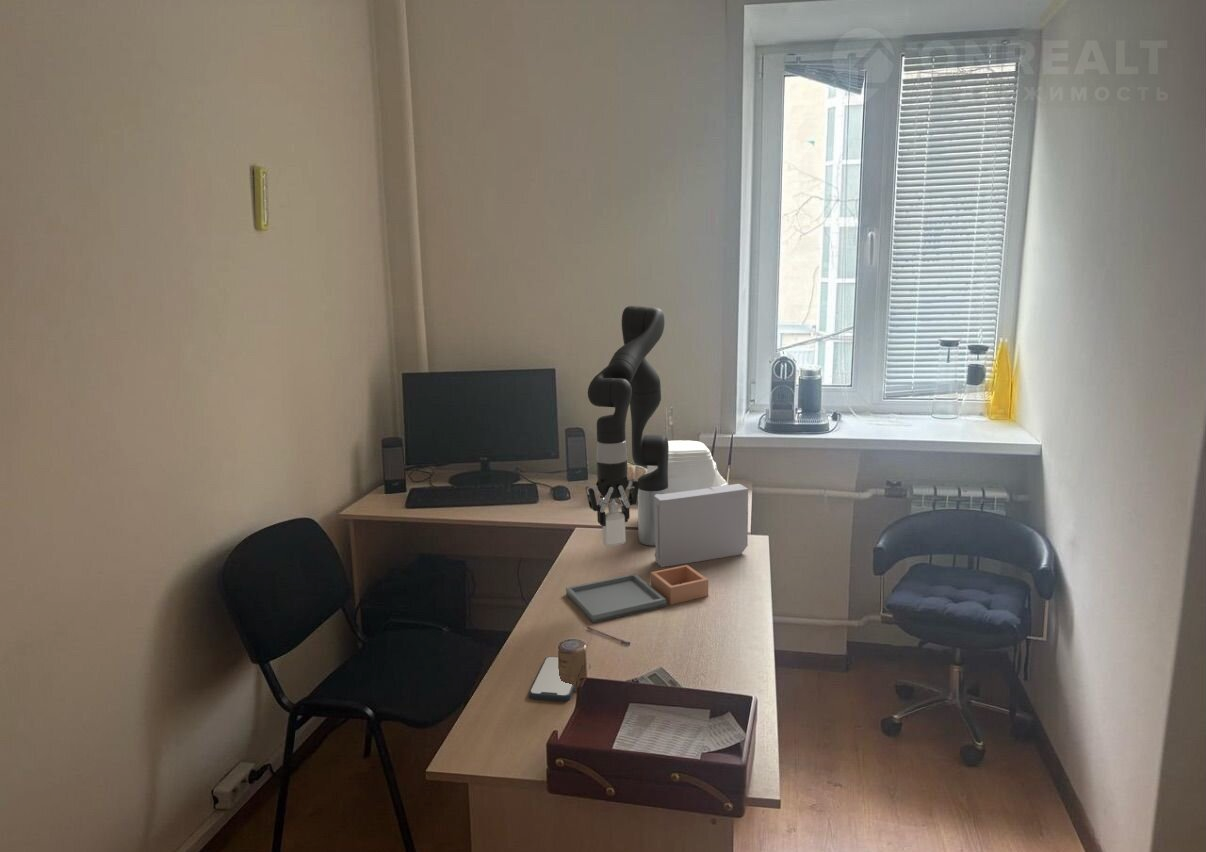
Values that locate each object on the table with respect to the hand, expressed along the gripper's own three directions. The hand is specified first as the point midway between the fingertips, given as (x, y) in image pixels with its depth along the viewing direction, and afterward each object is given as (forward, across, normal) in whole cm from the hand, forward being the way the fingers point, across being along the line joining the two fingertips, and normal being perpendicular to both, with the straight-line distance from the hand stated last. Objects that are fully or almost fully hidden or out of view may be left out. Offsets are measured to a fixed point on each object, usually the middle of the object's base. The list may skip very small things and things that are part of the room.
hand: (613, 523), depth 199 cm
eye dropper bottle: (+6, 0, 0) cm, 6 cm away
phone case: (+22, +27, +29) cm, 45 cm away
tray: (+21, 0, 0) cm, 21 cm away
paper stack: (+21, -46, -43) cm, 66 cm away
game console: (+21, -34, -15) cm, 43 cm away
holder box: (+21, -17, +3) cm, 27 cm away
